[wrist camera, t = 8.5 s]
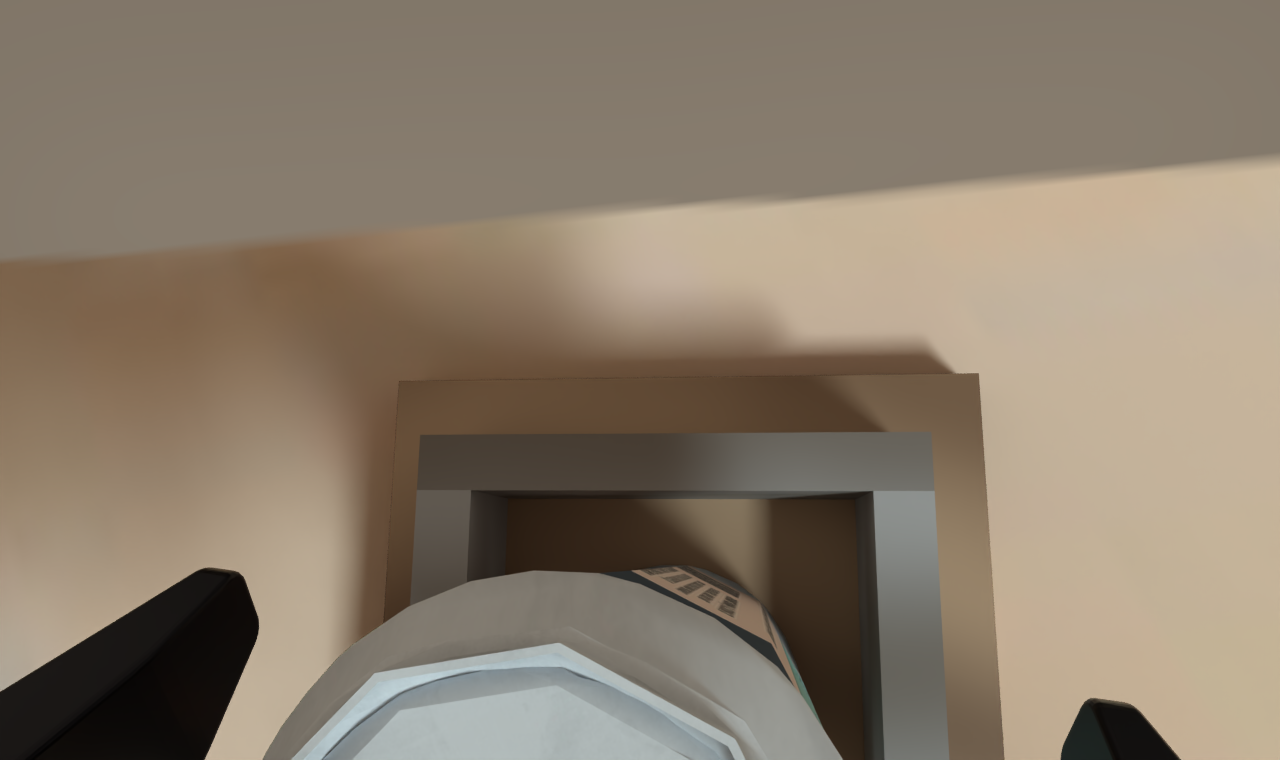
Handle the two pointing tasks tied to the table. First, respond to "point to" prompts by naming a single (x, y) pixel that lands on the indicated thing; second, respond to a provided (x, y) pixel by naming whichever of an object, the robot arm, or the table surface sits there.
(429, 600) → the beer can
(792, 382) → the socket board
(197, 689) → the robot arm
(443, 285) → the table surface
